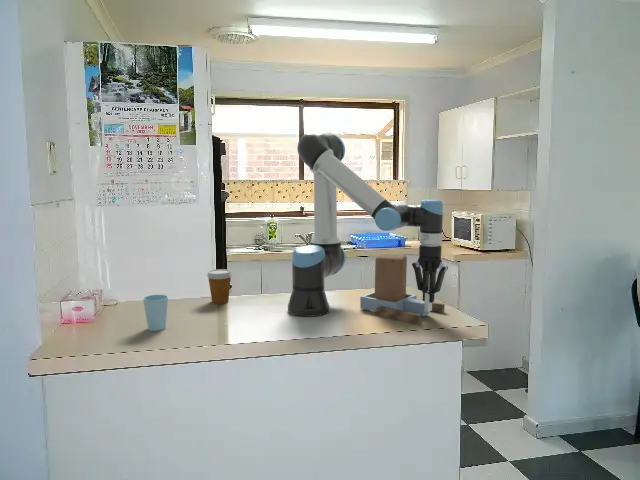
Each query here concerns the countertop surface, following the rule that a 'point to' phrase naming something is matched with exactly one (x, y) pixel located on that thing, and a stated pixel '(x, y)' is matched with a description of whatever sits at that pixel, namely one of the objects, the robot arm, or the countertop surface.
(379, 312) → the rails
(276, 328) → the countertop surface
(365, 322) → the countertop surface
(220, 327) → the countertop surface
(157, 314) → the cup
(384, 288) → the wooden block
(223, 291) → the disposable coffee cup
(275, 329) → the countertop surface
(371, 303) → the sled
